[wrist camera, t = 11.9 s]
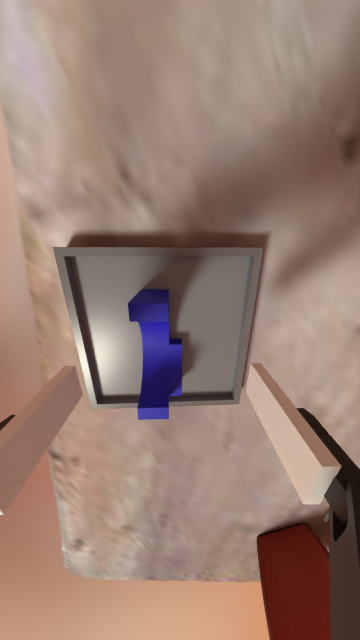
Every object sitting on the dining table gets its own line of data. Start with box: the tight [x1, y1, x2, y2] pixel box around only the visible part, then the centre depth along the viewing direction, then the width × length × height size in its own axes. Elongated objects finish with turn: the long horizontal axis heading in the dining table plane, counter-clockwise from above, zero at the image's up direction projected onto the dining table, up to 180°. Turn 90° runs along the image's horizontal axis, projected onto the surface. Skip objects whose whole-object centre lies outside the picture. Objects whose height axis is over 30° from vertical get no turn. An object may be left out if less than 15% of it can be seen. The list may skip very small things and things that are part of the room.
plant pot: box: [257, 524, 331, 640], centre depth 35 cm, size 19×19×17 cm
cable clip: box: [128, 289, 182, 420], centre depth 18 cm, size 12×4×6 cm, turn 179°
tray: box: [53, 247, 264, 409], centre depth 20 cm, size 20×20×2 cm
